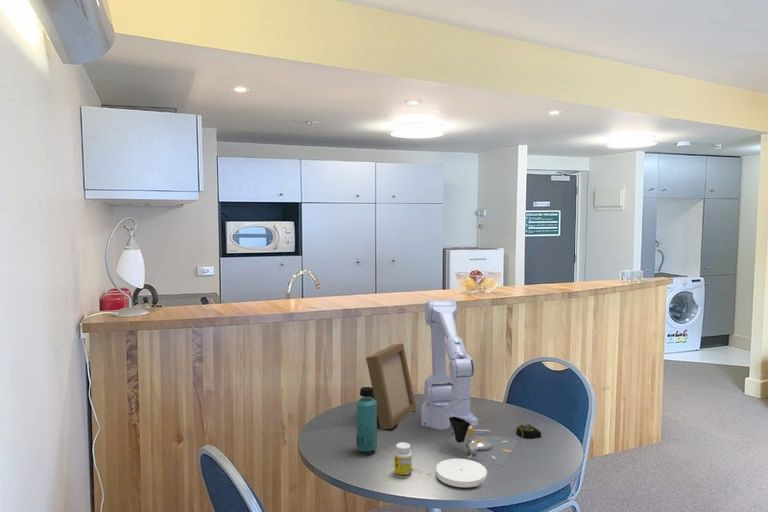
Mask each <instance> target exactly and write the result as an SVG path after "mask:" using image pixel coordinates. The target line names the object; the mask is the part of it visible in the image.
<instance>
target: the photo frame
mask: <svg viewBox="0 0 768 512" xmlns="http://www.w3.org/2000/svg"><path fill="white" fill-rule="evenodd" d="M405 351H406V350H405V346H404V343H396V344H391V345H389V346H387V347H386V348H385V347H384V348H383V349H381V350H379V351H377V352H375V353H372V354H371V355H369V356H367V357H365V358H366V363H367V369H368V374H369V379H370V384H371V388H373V396H371V398H373V399H374V400H375V401H376V402H377V419H378V423H379V425H378V426H379V427H380V428H379V429H380V430H391V429H393V428H394V427H396V426H397V425H398V424H399V423H400V422H401V421H402V420H403V419H405V418H406V417H407V416H408V415H410V414H412V413H413V412H414V411H415V410H416V409H417V405H416V401H415V395H414V390H413V386H412V380H411V376H410V371H409V365H408V361H407V357H406V356H407V355H406V352H405Z"/></svg>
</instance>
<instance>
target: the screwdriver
mask: <svg viewBox="0 0 768 512" xmlns="http://www.w3.org/2000/svg"><path fill="white" fill-rule="evenodd" d="M452 432H453V435H455V434H454V431H452ZM473 432H478V433H492V430H491V429H474V428H473V426H471V425H470V426H469V428H468V430H467V433H466V436H473Z"/></svg>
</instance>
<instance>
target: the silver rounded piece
mask: <svg viewBox="0 0 768 512" xmlns="http://www.w3.org/2000/svg"><path fill="white" fill-rule="evenodd" d="M466 446H467V447H468V454H469V455H476V452H477V451H478V450H479V451H484V450H489V449H491V448H492V441H491V440H490V439H488V438H486V437H481V436H473V437H469V438H467V439H466Z"/></svg>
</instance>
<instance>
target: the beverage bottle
mask: <svg viewBox="0 0 768 512" xmlns="http://www.w3.org/2000/svg"><path fill="white" fill-rule="evenodd" d="M359 396H360V397H361V398H359V399H358V400H356V415H355V417H356V418H355V421H356V433H355V434H356V435H355V438H356V444H355V446H356V449H357V450H359V451H361V452H373V451H375V450H376V449H377V447H378V426H377V425H378V423H377V422H378V421H377V419H378V415H377V402H376V401H375V400H374V399H373V398H371V396H373V388H372V386H363V387H360V392H359Z"/></svg>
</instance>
